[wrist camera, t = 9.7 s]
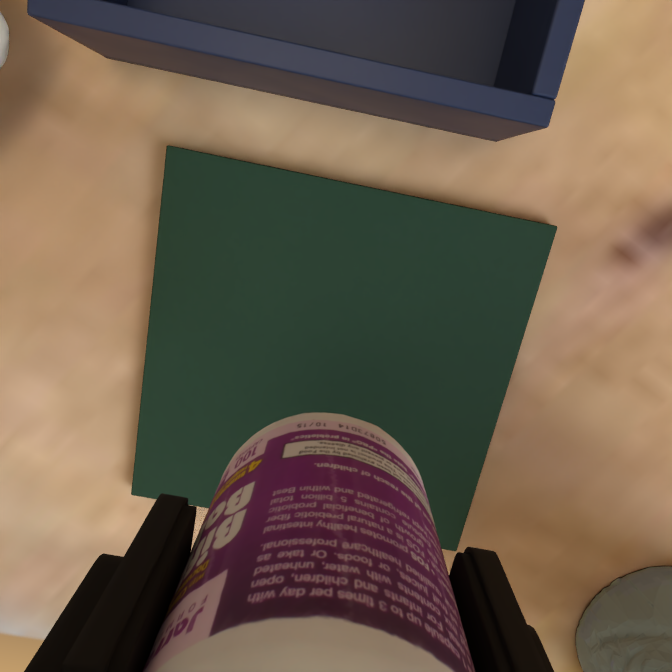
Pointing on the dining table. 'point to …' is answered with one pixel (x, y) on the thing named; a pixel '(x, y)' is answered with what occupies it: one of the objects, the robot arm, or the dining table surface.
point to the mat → (328, 323)
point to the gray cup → (629, 625)
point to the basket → (351, 52)
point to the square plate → (3, 40)
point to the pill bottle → (315, 562)
